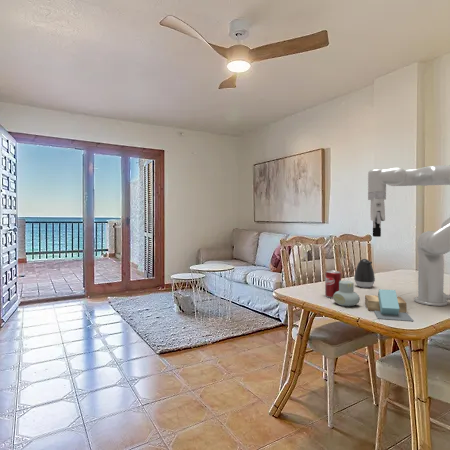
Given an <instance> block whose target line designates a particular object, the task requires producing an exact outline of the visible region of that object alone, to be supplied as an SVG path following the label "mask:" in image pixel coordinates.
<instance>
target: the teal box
mask: <svg viewBox="0 0 450 450" xmlns="http://www.w3.org/2000/svg"><path fill="white" fill-rule="evenodd" d="M377 296H378V299H379V305H380V311H381V314H389V315H398V313H399V309H400V308H399V304H398V300H397V297H398V296H397V292H396V289H378V292H377Z"/></svg>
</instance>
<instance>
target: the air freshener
mask: <svg viewBox="0 0 450 450" xmlns="http://www.w3.org/2000/svg"><path fill="white" fill-rule="evenodd" d="M354 288H355V287H354V282H353V281H351V280H350V281H349V280H341V281H340V282H339V291H337V292H335V293H334V295H333V298H332V299H333V301H334V302H335V303H336V304H338V305H339V306H340V307H354V306H356V305H358V304H359V303H360V301H361V297H360V295H359V294H358V293H356V292H355V291H354Z"/></svg>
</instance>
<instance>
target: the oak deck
mask: <svg viewBox="0 0 450 450" xmlns="http://www.w3.org/2000/svg"><path fill="white" fill-rule="evenodd" d="M364 299H365V300H364V301H365V302H364V305H365V307H366V308H367V311H372V312H374V311H380V305H379V299H378V295H374V294H371V295H370V294H365V295H364ZM397 300H398V304H399V308H400V309H399V312H403V313H407V314H408V312H407V308H408V307H407V306H408V305H407V304H408V303H407V302H406V301H405V300H404V299H403V297H401V296H397Z"/></svg>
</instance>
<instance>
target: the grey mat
mask: <svg viewBox="0 0 450 450" xmlns="http://www.w3.org/2000/svg"><path fill="white" fill-rule="evenodd" d="M373 313H374V315H375V317H376V318H377V320H385V321H386V320H388V321H389V320H390V321H401V322H413V321H414V319H413V318H412V317H411V316H410V315H409V314H408V312H407V313H403V312H399V313H398V315H389V314H381V311H373Z"/></svg>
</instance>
